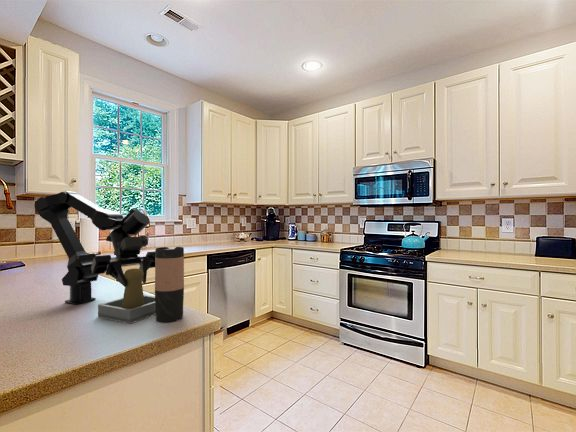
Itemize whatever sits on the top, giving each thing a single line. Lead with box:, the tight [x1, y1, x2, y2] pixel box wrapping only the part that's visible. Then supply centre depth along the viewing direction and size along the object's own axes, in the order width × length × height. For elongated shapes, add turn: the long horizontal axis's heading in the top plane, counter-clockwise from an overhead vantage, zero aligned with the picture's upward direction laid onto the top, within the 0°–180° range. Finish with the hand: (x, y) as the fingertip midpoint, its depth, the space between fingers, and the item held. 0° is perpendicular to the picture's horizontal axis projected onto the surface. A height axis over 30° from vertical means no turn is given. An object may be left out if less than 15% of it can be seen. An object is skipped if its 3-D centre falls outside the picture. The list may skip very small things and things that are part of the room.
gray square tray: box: [97, 294, 156, 325], centre depth 87 cm, size 13×13×4 cm
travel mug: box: [154, 246, 185, 324], centre depth 83 cm, size 8×8×20 cm
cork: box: [122, 268, 145, 309], centre depth 87 cm, size 6×6×11 cm
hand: (135, 284), depth 86 cm, fingers closed on cork, 5 cm apart
